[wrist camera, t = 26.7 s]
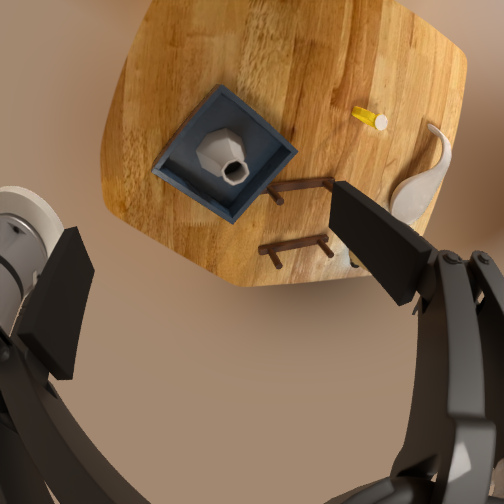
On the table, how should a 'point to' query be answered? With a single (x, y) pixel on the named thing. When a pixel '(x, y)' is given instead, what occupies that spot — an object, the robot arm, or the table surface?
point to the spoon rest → (420, 186)
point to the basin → (258, 159)
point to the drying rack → (272, 191)
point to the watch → (370, 118)
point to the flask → (224, 155)
